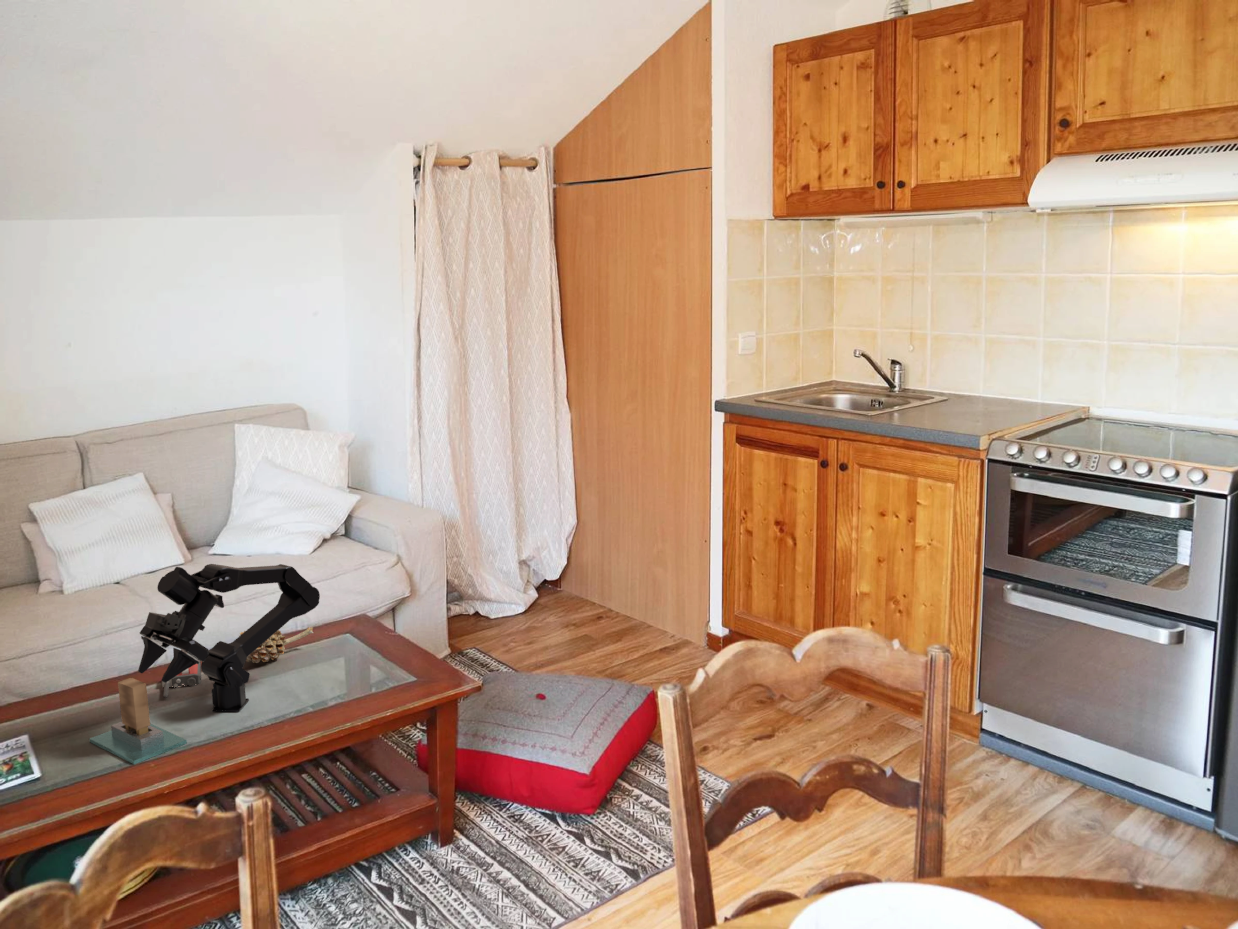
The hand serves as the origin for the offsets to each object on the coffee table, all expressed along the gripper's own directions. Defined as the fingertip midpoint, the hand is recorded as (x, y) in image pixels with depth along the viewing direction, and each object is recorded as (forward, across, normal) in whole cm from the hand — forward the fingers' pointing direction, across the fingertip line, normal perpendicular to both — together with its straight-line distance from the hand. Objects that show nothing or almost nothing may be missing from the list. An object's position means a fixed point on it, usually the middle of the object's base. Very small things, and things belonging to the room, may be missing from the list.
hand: (151, 677), depth 234 cm
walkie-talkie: (-4, -22, +24) cm, 33 cm away
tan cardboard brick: (+12, 0, +6) cm, 14 cm away
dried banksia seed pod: (-21, -18, +41) cm, 49 cm away
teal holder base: (+13, 0, +6) cm, 14 cm away
